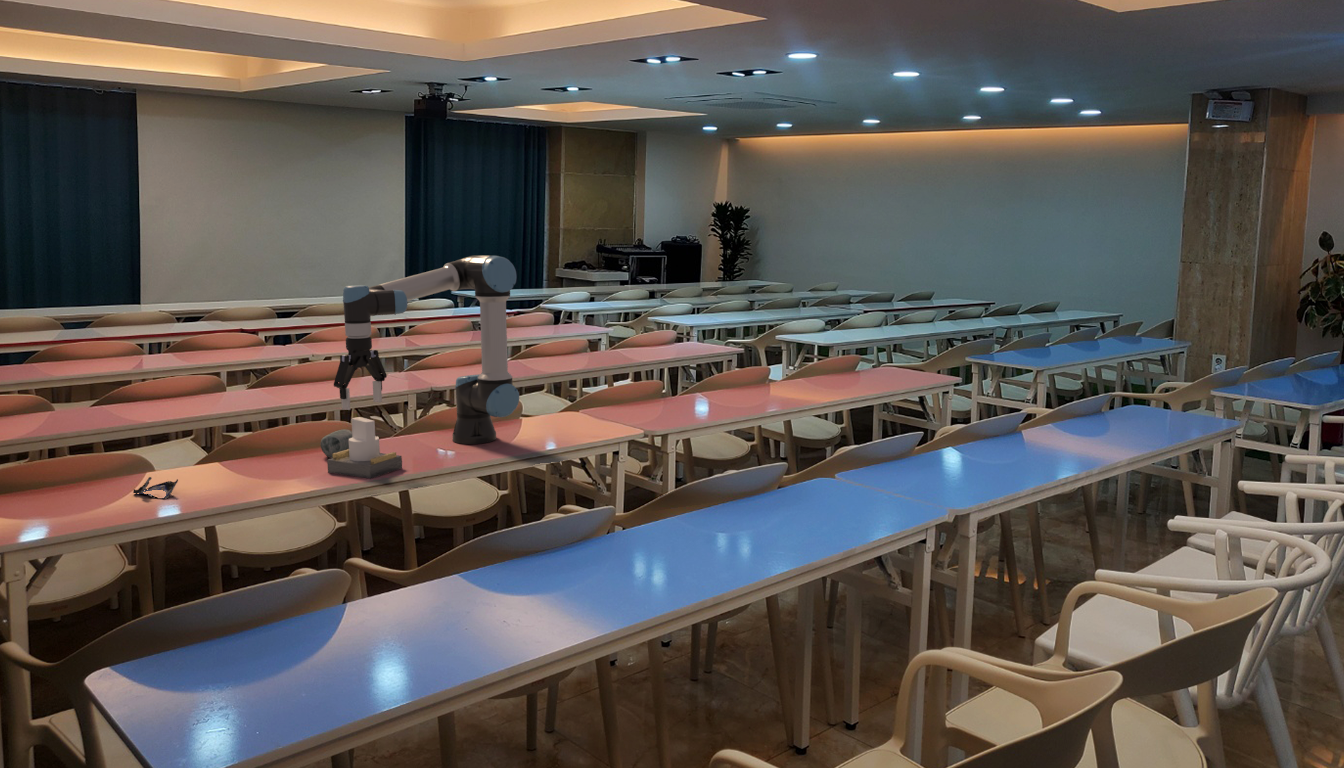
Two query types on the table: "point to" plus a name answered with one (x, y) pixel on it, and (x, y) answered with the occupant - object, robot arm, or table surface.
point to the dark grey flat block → (364, 465)
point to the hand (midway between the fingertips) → (362, 405)
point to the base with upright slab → (363, 440)
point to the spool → (336, 442)
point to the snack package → (157, 487)
